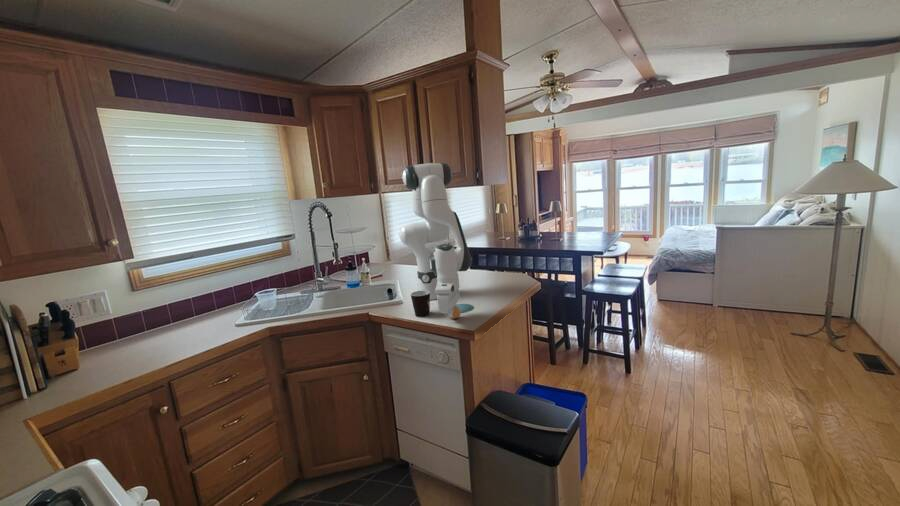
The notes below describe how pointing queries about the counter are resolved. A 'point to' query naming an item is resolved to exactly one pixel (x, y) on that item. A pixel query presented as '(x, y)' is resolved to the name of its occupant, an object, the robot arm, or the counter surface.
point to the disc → (464, 307)
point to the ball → (456, 312)
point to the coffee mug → (421, 303)
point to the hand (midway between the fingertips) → (451, 316)
